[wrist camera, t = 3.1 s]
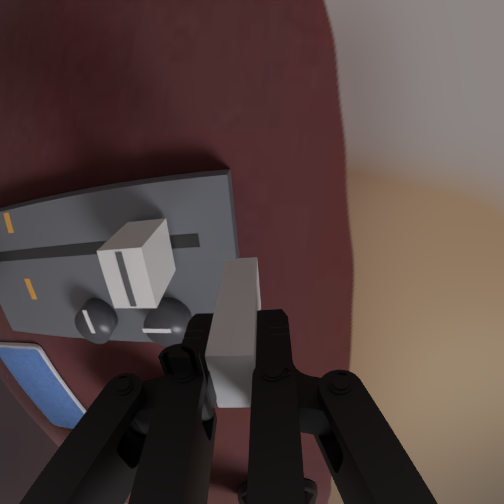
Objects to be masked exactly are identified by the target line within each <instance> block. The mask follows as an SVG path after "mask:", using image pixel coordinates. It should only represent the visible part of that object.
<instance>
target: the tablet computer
mask: <svg viewBox="0 0 504 504" xmlns="http://www.w3.org/2000/svg"><path fill="white" fill-rule="evenodd" d="M0 358H1V359H2V361H3V362H4V364H5V365H6V366H7V368H8V369H9V371H10V372H11V373H12V375H13V376H14V378H15V379H16V380H17V382H18V383H19V384H20V386H21V387H22V388H23V390H24V391H25V392H26V393H27V395H28V396H29V397H30V398H31V399H32V401H33V402H34V403H35V404H36V406H37V407H38V408H39V409H40V410H41V411H42V413H43V414H44V415H45V416H46V417H47V418H48V419H49V420H50V422H51V423H52V424H54V425H57V426H61V427H66V428H71V429H73V428H74V427H75V426H76V424H77V423H78V422H79V420H80V419H81V418H82V416H83V415H84V414H85V412H86V409H85V408H84V407H83V406H82V404H81V403H80V402H79V401H78V399H77V398H76V397H75V396H74V394H73V393H72V392H71V390H70V389H69V388H68V386H67V385H66V383H65V382H64V381H63V379H62V378H61V377H60V375H59V374H58V372H57V371H56V369H55V368H54V366H53V365H52V363H51V362H50V360H49V359H48V357H47V355H46V354H45V352H44V350H43V349H42V348H41V346H39V345H38V344H32V343H9V342H0Z"/></svg>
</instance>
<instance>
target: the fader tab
mask: <svg viewBox="0 0 504 504" xmlns="http://www.w3.org/2000/svg"><path fill="white" fill-rule="evenodd" d="M97 254H98V258H99V261H100V265H101V268H102V271H103V275H104V278H105V281H106V284H107V288H108V291H109V294H110V297H111V300H112V303H113V306H114V308H157V307H158V305H159V303H160V300H161V298H162V296H163V294H164V292H165V290H166V288H167V286H168V284H169V282H170V280H171V278H172V276H173V274H174V272H175V270H176V268H175V263H174V258H173V253H172V248H171V243H170V237H169V232H168V226H167V221H166V218H164V219H154V220H144V221H134V222H127V223H126V224H125V225H124V226H123V227H122V228H121V229H120V230H119V231H117V232H116V233H115V234H114V235H113V236H112V237H111V238H110V239H109V240H108V241H107V242H105V243H104V244H103V245H102V246H101V247H100V248H99V249H98V250H97Z"/></svg>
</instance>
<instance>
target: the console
mask: <svg viewBox="0 0 504 504" xmlns="http://www.w3.org/2000/svg"><path fill="white" fill-rule="evenodd" d="M164 218H166V221H167V226H168V232H169V237H170V243H171V248H172V253H173V258H174V263H175V268H176V270H175V272H174V274H173V276H172V278H171V280H170V282H169V284H168V286H167V288H166V290H165V292H164V294H163V296H162V298H161V300H160V303H159V305H158V307H157V308H114V306H113V303H112V300H111V297H110V294H109V291H108V288H107V284H106V281H105V278H104V275H103V271H102V268H101V265H100V261H99V258H98V254H97V250H98V249H99V248H100V247H101V246H102V245H103V244H104V243H105V242H107V241H108V240H109V239H110V238H111V237H112V236H113V235H114V234H115V233H116V232H117V231H119V230H120V229H121V228H122V227H123V226H124V225H125V224H126V223H127V222H134V221H144V220H154V219H164ZM236 258H240V257H239V247H238V238H237V228H236V218H235V208H234V198H233V188H232V178H231V169H224V170H213V171H203V172H194V173H185V174H177V175H169V176H161V177H154V178H147V179H140V180H133V181H127V182H121V183H115V184H109V185H103V186H97V187H92V188H87V189H81V190H76V191H71V192H66V193H61V194H57V195H52V196H47V197H43V198H39V199H34V200H30V201H26V202H22V203H18V204H14V205H10V206H6V207H2V208H0V304H1V307H2V309H3V311H4V313H5V315H6V317H7V319H8V321H9V324H10V326H11V328H12V329H13V331H20V332H27V333H35V334H44V335H53V336H62V337H73V338H85V339H87V340H88V341H90V342H93V343H96V344H103V343H106V342H107V341H108V340H115V341H136V342H155V343H157V344H159V345H161V346H164V347H169V346H171V345H174V344H180V343H182V341H183V339H184V334H185V332H186V328H187V325H188V321H189V320H190V319H191V318H192V317H193V316H194V315H195V314H198V313H214V310H215V306H216V301H217V296H218V292H219V287H220V283H221V278H222V274H223V270H224V265H225V261H226V259H236Z"/></svg>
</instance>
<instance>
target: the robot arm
mask: <svg viewBox="0 0 504 504" xmlns="http://www.w3.org/2000/svg"><path fill="white" fill-rule="evenodd" d="M158 358H159V360H160V363H161V366H162V368H163V371H164V373H165V376H163V377H161V378H157V379H153V380H148V381H143V382H142V381H141V380H140V378H139V377H138V376H136V375H134V374H128V373H126V374H120V375H118V376H116V377H114V378H113V379H112V380H110V381H109V382H108V384H107V385H106V386H105V388H104V389H103V390H102V391H101V393H100V394H99V395H98V397H97V398H96V399H95V401H94V402H93V403H92V405H91V406H90V407H89V409H88V410H87V411H86V412H85V414H84V415H83V416H82V418H81V419H80V420H79V422H78V423H77V424H76V426H75V427H74V428H73V430H72V431H71V432H70V434H69V435H68V437H67V438H66V439H65V441H64V442H63V443H62V445H61V446H60V447H59V449H58V450H57V451H56V453H55V454H54V456H53V457H52V458H51V460H50V461H49V463H48V464H47V465H46V467H45V468H44V470H43V471H42V472H41V474H40V475H39V476H38V478H37V479H36V481H35V482H34V484H33V485H32V486H31V488H30V489H29V491H28V492H27V494H26V495H25V496H24V498H23V499H22V501H21V502H20V504H124V503H125V501H126V499H127V497H128V496H129V494H130V492H131V495H130V499H129V503H128V504H207V499H208V490H209V481H210V473H211V464H212V456H213V448H214V440H215V432H216V423H217V416H216V412H215V406H216V401H217V405H218V407H251V417H250V440H249V462H248V482H247V483H244V484H242V485H241V486H240V487H239V488H238V501H239V504H315V503H316V500H317V496H318V491H317V485H316V483H315V482H313V481H311V480H307V479H304V473H303V459H302V446H301V434H300V432H303V433H309V434H314V436H315V439H316V441H317V443H318V445H319V448H320V450H321V452H322V455H323V457H324V459H325V461H326V464H327V466H328V468H329V471H330V473H331V475H332V477H333V480H334V482H335V484H336V486H337V488H338V491H339V493H340V495H341V498H342V500H343V502H344V504H437V502H436V500H435V499H434V497H433V495H432V494H431V492H430V490H429V489H428V487H427V485H426V484H425V482H424V481H423V479H422V477H421V476H420V474H419V472H418V471H417V470H416V467H415V466H414V464H413V462H412V461H411V459H410V458H409V456H408V454H407V453H406V451H405V450H404V448H403V446H402V445H401V443H400V442H399V440H398V438H397V437H396V435H395V434H394V432H393V430H392V429H391V427H390V426H389V424H388V422H387V421H386V419H385V418H384V416H383V415H382V413H381V411H380V410H379V408H378V407H377V405H376V404H375V402H374V400H373V399H372V397H371V396H370V394H369V393H368V391H367V389H366V388H365V386H364V385H363V383H362V382H361V380H360V379H359V378H358V377H357V376H356V375H355V374H354V373H352V372H349V371H346V370H334V371H331V372H328V373H326V374H325V375H324V376H323V377H322V378H318V377H312V376H308V375H305V374H303V373H301V372H300V371H299V370H297V369H296V367H295V366H294V364H293V361H292V351H291V342H290V332H289V323H288V316H287V315H286V314H285V313H284V311H283V310H282V309H276V310H261V301H260V288H259V276H258V263H257V257H253V258H236V259H226V261H225V265H224V270H223V274H222V278H221V283H220V287H219V292H218V296H217V301H216V306H215V310H214V313H198V314H195V315H194V316H193V317H192V318H191V319H190V320H189V321H188V325H187V328H186V332H185V334H184V339H183V341H182V343H180V344H174V345H171V346H169V347H167V348H165V349H164V350H163V351H162V352H161V353H160V355H159V356H158ZM131 490H132V491H131Z"/></svg>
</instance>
